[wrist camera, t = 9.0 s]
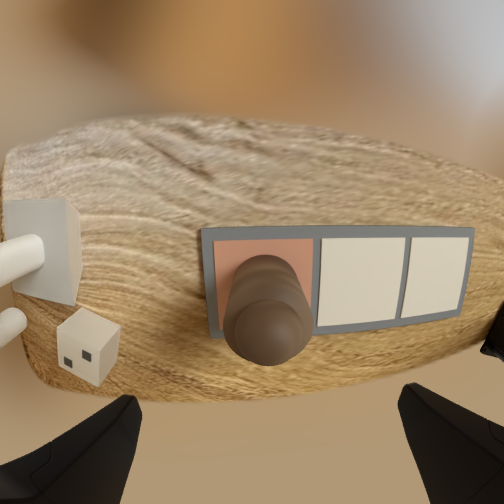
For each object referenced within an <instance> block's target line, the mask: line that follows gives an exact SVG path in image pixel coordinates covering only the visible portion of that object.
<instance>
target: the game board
mask: <svg viewBox="0 0 504 504" xmlns="http://www.w3.org/2000/svg"><path fill="white" fill-rule="evenodd" d="M474 233H475V228H472V227H444V226H391V225H308V226H252V227H217V228H201V239H202V254H203V268H204V281H205V292H206V303H207V314H208V324H209V333H210V338H225V337H224V333H223V319H224V315H225V310H226V306H227V302H228V298H229V293H230V289H231V285H232V281H233V277H234V274H235V272H236V270H237V269H238V267H239V266H240V265H241V264H242V263H243V262H244V261H246V260H247V259H249V258H251V257H254V256H257V255H264V254H266V255H274V256H277V257H280V258H282V259H283V260H285V261H286V262H288V263H289V264H290V265H291V266H292V268H293V269H294V271H295V273H296V275H297V278H298V280H299V282H300V285H301V287H302V290H303V292H304V295H305V297H306V299H307V302H308V304H309V307H310V309H311V312H312V315H313V320H314V327H313V333H312V335H324V334H336V333H347V332H357V331H366V330H374V329H382V328H390V327H397V326H404V325H410V324H417V323H423V322H428V321H434V320H440V319H445V318H450V317H455V316H460V313H461V309H462V305H463V301H464V296H465V292H466V287H467V282H468V276H469V270H470V264H471V258H472V250H473V242H474Z"/></svg>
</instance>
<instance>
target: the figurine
mask: <svg viewBox="0 0 504 504" xmlns="http://www.w3.org/2000/svg"><path fill="white" fill-rule="evenodd" d="M3 207H4V229H5V242H2V243H0V287H2V286H4V285H6V284H8V283H10V282H11V284H12V289H13V291H14V292H18V293H21V294H25V295H29V296H32V297H36V298H40V299H44V300H48V301H53V302H57V303H61V304H66V305H70V306H75V302H76V297H77V293H78V288H79V283H80V279H81V275H82V271H83V264H82V251H81V233H80V213H79V212H78V211H77V210H76V209H75V208H74V207H73V206H72V204H71V203H70V202H69V201H68V200H67V199H66V198H49V199H23V200H5V201H3ZM26 327H27V318H26V316H25V314H24V313H23V312H22V311H21V310H20V309H18V308H15V307H11V308H8V309H6V310H4V311H2V312H1V313H0V349H1V348H2V347H3V346H5V345H6V344H7V343H9V342H10V341H11V340H12V339H14V338H15V337H16V336H17V335H19V334H20V333H21V332H23V331H24V330H25V328H26Z"/></svg>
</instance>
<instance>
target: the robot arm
mask: <svg viewBox="0 0 504 504" xmlns="http://www.w3.org/2000/svg"><path fill="white" fill-rule="evenodd" d="M480 352H481V353H482V354H485V355H489V356H493V357H497V358H499V359H501V360H502V361H503V362H504V305H503V307H502V309H501V311H500V313H499V315H498V317H497V319H496V321H495V323H494V325H493V327H492V329H491V331H490V333H489V335H488V336H487V338H486V340H485V342H484V344H483V345H482V347H481V349H480ZM398 409H399V413H400V416H401V419H402V423H403V427H404V430H405V434H406V438H407V440H408V443H409V446H410V449H411V451H412V453H413V456H414V459H415V461H416V464H417V467H418V469H419V472H420V475H421V478H422V480H423V483H424V486H425V488H426V492H427V495H428V498H429V501H430V504H504V427H503V426H501V425H498V424H496V423H494V422H492V421H490V420H487V419H486V418H484V417H482V416H480V415H478V414H476V413H474V412H472V411H470V410H468V409H466V408H463V407H461V406H460V405H458V404H455V403H453V402H452V401H450V400H448V399H446V398H444V397H442V396H440V395H438V394H436V393H434V392H432V391H431V390H429V389H427V388H425V387H423V386H421V385H419V384H417V383H410V384H406V385H405V386H404V387H403V389H402V392H401V395H400V397H399V400H398ZM141 421H142V411H141V409H140V406H139V403H138V401H137V398H136V397H135V396H133V395H127V394H124V395H122V396H120V397H119V398H117V399H116V400H114V401H113V402H112V403H110V404H109V405H107V406H105V407H104V408H102V409H101V410H99V411H98V412H96V413H95V414H93V415H92V416H90V417H89V418H87V419H86V420H84V421H82V422H81V423H79V424H78V425H76V426H75V427H73V428H71V429H70V430H68V431H67V432H65V433H64V434H62V435H60V436H59V437H57V438H55V439H54V440H52V442H49V443H47V444H45V445H44V446H42V447H40V448H38V449H36V450H35V451H33V452H31V453H29V454H26V455H24V456H22V457H20V458H17V459H15V460H13V461H10V462H8V463H5V464H3V465H0V504H120V501H121V497H122V494H123V491H124V487H125V484H126V481H127V478H128V474H129V471H130V468H131V465H132V462H133V459H134V455H135V451H136V446H137V441H138V436H139V431H140V426H141Z"/></svg>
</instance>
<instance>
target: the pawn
mask: <svg viewBox="0 0 504 504" xmlns="http://www.w3.org/2000/svg"><path fill="white" fill-rule="evenodd" d="M313 327H314V320H313V315H312V312H311V309H310V307H309V304H308V302H307V299H306V297H305V295H304V292H303V290H302V287H301V285H300V282H299V280H298V278H297V275H296V273H295V271H294V269H293V268H292V266H291V265H290V264H289V263H288V262H286V261H285V260H283V259H282V258H280V257H277V256H274V255H266V254H264V255H257V256H254V257H251V258H249V259H247V260H246V261H244V262H243V263H242V264H241V265H240V266H239V267H238V269H237V270H236V272H235V274H234V277H233V281H232V285H231V289H230V293H229V298H228V302H227V306H226V310H225V315H224V319H223V333H224V337H225V339H226V341H227V343H228V345H229V346H230V348H231V349H232V350H233V351H234V352H235V353H236V354H237V355H239V356H240V357H242V358H244V359H246V360H248V361H251V362H253V363H255V364H258V365H262V366H275V365H279V364H282V363H284V362H286V361H288V360H289V359H291V358H292V357H294V356H296V355H297V354H298V353H300V352H301V351H302V350H303V349H304V348H305V346H306V345H307V344H308V342H309V340H310V338H311V336H312V333H313Z"/></svg>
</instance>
